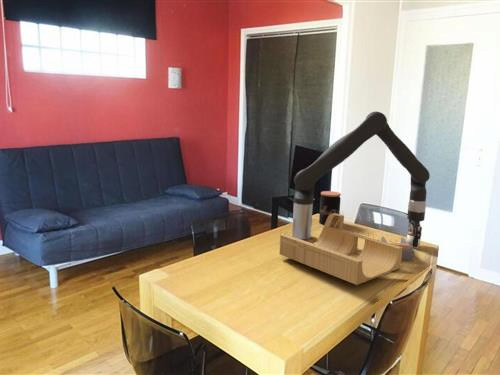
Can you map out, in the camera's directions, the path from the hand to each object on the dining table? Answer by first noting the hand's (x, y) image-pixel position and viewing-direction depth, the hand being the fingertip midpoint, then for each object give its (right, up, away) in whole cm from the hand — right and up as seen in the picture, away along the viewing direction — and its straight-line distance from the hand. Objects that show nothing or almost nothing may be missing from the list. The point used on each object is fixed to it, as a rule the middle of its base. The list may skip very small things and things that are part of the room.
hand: (413, 244), depth 203 cm
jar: (0, -1, 0) cm, 1 cm away
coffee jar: (-34, +6, +33) cm, 48 cm away
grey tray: (-11, -3, -9) cm, 15 cm away
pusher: (-12, -3, -16) cm, 20 cm away
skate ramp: (-38, -5, -22) cm, 44 cm away
